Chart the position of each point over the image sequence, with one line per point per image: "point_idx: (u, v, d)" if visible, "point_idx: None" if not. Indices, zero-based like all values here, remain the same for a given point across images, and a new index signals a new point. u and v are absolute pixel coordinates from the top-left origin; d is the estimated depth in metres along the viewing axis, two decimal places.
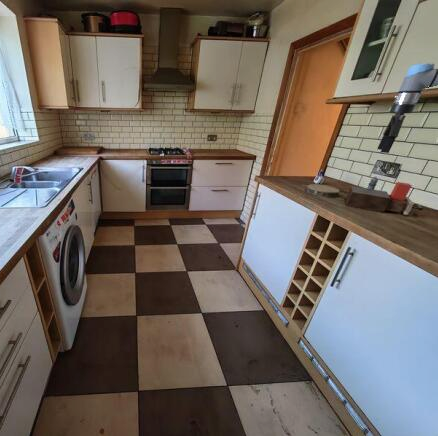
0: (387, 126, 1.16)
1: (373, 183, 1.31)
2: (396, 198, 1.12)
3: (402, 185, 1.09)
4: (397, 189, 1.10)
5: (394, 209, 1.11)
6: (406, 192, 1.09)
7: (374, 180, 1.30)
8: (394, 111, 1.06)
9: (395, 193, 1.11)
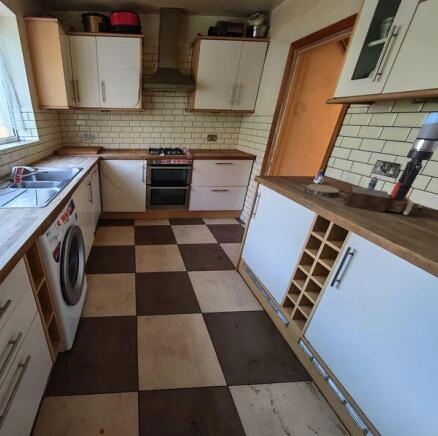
0: None
1: (373, 183, 1.31)
2: None
3: None
4: (397, 189, 1.10)
5: (394, 209, 1.11)
6: (406, 192, 1.09)
7: (374, 180, 1.30)
8: (412, 157, 1.04)
9: (395, 193, 1.11)
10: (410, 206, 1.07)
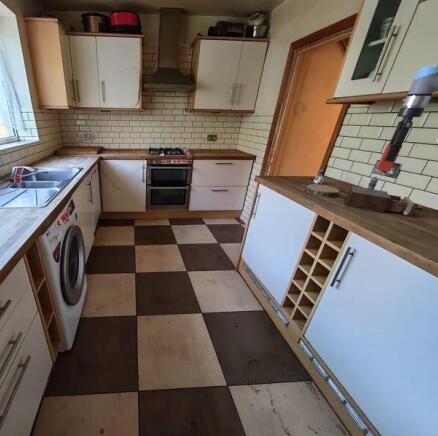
0: (393, 134, 1.10)
1: (373, 183, 1.31)
2: None
3: None
4: (387, 150, 1.08)
5: (394, 209, 1.11)
6: (397, 153, 1.07)
7: (374, 180, 1.30)
8: (402, 115, 1.01)
9: (386, 155, 1.09)
10: (410, 206, 1.07)
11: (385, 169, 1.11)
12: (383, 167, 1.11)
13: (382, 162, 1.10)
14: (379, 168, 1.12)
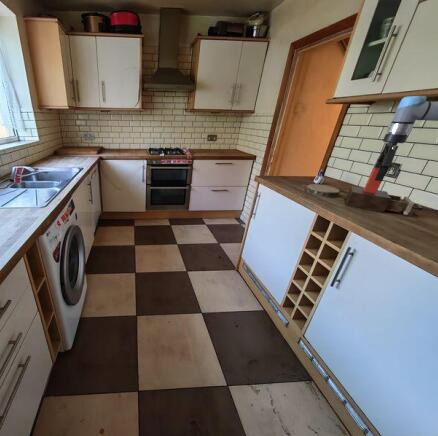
0: (381, 153, 1.17)
1: None
2: (373, 183, 1.15)
3: (378, 170, 1.12)
4: (373, 174, 1.14)
5: (394, 209, 1.11)
6: None
7: None
8: (387, 140, 1.07)
9: (372, 178, 1.15)
10: (410, 206, 1.07)
11: (372, 191, 1.16)
12: (370, 190, 1.16)
13: (368, 185, 1.16)
14: (366, 190, 1.17)
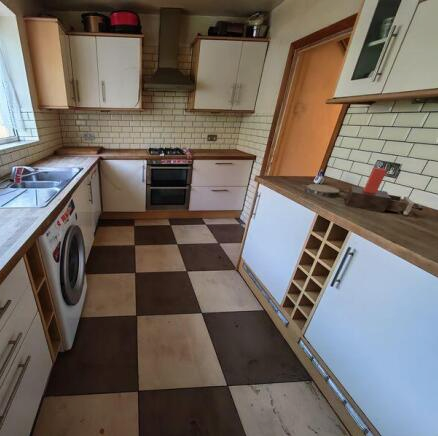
0: None
1: None
2: (373, 183, 1.15)
3: (378, 170, 1.12)
4: (373, 174, 1.14)
5: (394, 209, 1.11)
6: (382, 177, 1.12)
7: None
8: None
9: (372, 178, 1.15)
10: (410, 206, 1.07)
11: (372, 191, 1.16)
12: (370, 190, 1.16)
13: (368, 185, 1.16)
14: (366, 190, 1.17)
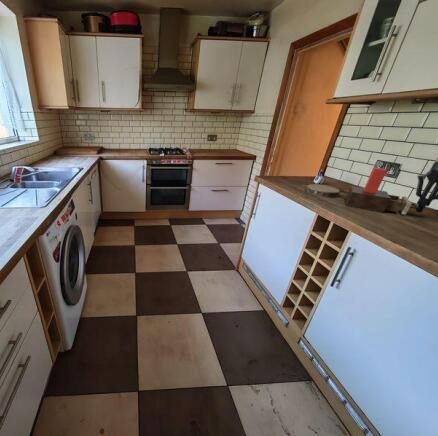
0: None
1: None
2: (373, 183, 1.15)
3: (378, 170, 1.12)
4: (373, 174, 1.14)
5: (392, 209, 1.11)
6: (382, 177, 1.12)
7: None
8: None
9: (372, 178, 1.15)
10: (408, 206, 1.07)
11: (372, 191, 1.16)
12: (370, 190, 1.16)
13: (368, 185, 1.16)
14: (366, 190, 1.17)
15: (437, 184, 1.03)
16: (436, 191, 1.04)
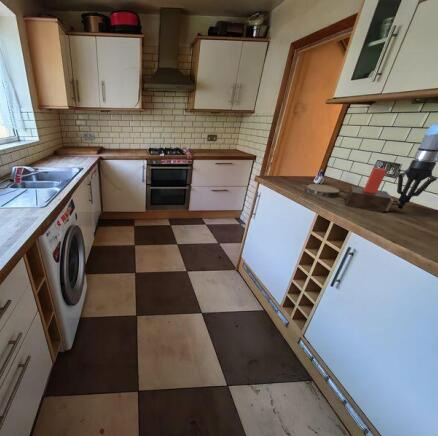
0: None
1: None
2: (373, 183, 1.15)
3: (378, 170, 1.12)
4: (373, 174, 1.14)
5: None
6: (382, 177, 1.12)
7: None
8: None
9: (372, 178, 1.15)
10: (390, 202, 1.11)
11: (372, 191, 1.16)
12: (370, 190, 1.16)
13: (368, 185, 1.16)
14: (366, 190, 1.17)
15: (415, 181, 1.07)
16: (415, 188, 1.07)
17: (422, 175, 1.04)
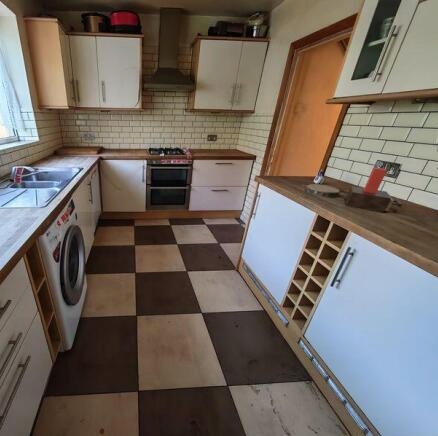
0: None
1: None
2: (373, 183, 1.15)
3: (378, 170, 1.12)
4: (373, 174, 1.14)
5: None
6: (382, 177, 1.12)
7: None
8: None
9: (372, 178, 1.15)
10: (390, 202, 1.11)
11: (372, 191, 1.16)
12: (370, 190, 1.16)
13: (368, 185, 1.16)
14: (366, 190, 1.17)
15: None
16: None
17: None
